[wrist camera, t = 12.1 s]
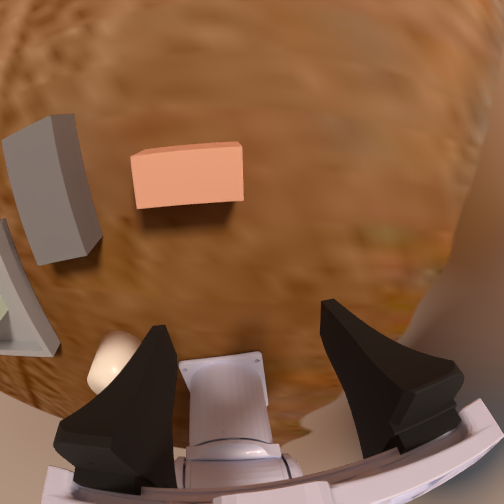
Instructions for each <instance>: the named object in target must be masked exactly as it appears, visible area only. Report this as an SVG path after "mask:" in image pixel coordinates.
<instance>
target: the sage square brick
mask: <svg viewBox="0 0 504 504" xmlns="http://www.w3.org/2000/svg"><path fill="white" fill-rule="evenodd" d="M7 311H8V309H7V307H6V305H5V303H4V301H3V299H2V297H1V295H0V320H1V319H2V318H3V316H4V315H5V314H6V312H7Z"/></svg>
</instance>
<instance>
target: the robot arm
mask: <svg viewBox="0 0 504 504" xmlns="http://www.w3.org/2000/svg"><path fill="white" fill-rule="evenodd" d="M320 335H321V339H322V342H323V345H324V348H325V351H326V353H327V355H328V357H329V359H330V362H331V364H332V366H333V368H334V370H335V372H336V374H337V376H338V378H339V380H340V382H341V385H342V387H343V389H344V391H345V394H346V397H347V399H348V403H349V406H350V409H351V412H352V416H353V419H354V422H355V425H356V429H357V433H358V437H359V441H360V445H361V450H362V454H363V458H364V459H363V460H360V461H357V462H354V463H351V464H347V465H344V466H341V467H337V468H334V469H330V470H327V471H322V472H318V473H314V474H310V475H306V476H303V474H302V471H301V468H300V466H299V464H298V462H297V461H296V460H295V459H294V458H292V456H290V455H289V454H288V453H284V454H281V452H280V447H279V444H273V440H272V434H271V429H270V424H269V419H268V413H267V408H266V406H268V398H267V390H266V382H265V375H264V367H263V360H262V354H261V353H260V352H258V351H257V352H250V353H243V354H236V355H229V356H221V357H213V358H205V359H195V360H186V361H180V362H179V369H180V371H181V374H182V376H183V378H184V380H185V383H186V385H187V387H188V389H189V392H190V424H189V446H187V447H186V458H185V457H178V458H177V460H175V461H174V457H173V456H174V455H173V439H172V413H173V404H174V395H175V387H176V379H177V354H176V352H175V349H174V347H173V344H172V342H171V339H170V336H169V334H168V331H167V328H166V326H165V325H158V326H153V327H152V328H151V329H150V331H149V332H148V334H147V335H146V337H145V338H144V340H143V341H142V343H141V344H140V346H139V347H138V349H137V350H136V351H135V353H134V354H133V356H132V357H131V359H130V360H129V361H128V363H127V364H126V365H125V366H124V368H123V369H122V370H121V372H120V373H119V374H118V375H117V376H116V377H115V378H114V380H113V381H112V382H111V383H110V384H109V385H108V386H107V387H106V388H105V389H104V390H103V391H101V392H100V393H99V394H98V395H97V396H96V397H95V398H94V399H92V400H91V401H90V402H89V403H87V404H86V405H85V406H83V407H82V408H81V409H79V410H78V411H76V412H75V413H73V414H72V415H70V416H68V417H67V418H65V419H63V420H61V421H60V423H59V426H58V429H57V433H56V436H55V439H54V443H53V445H54V446H53V447H54V448H55V450H56V451H57V452H58V453H59V454H60V455H61V456H62V457H63V458H65V459H66V460H67V461H69V462H70V463H71V464H72V465H74V466H75V472H72V471H70V470H67V469H64V468H59V467H55V466H52V465H49V467H48V471H47V476H46V481H45V485H44V490H43V495H42V500H41V504H405V503H407V502H409V501H411V500H413V499H415V498H417V497H419V496H421V495H423V494H425V493H426V492H428V491H430V490H432V489H433V488H435V487H437V486H439V485H441V484H442V483H444V482H446V481H447V480H449V479H450V478H452V477H454V476H455V475H457V474H458V473H460V472H461V471H463V470H465V469H466V468H468V467H469V466H471V465H472V464H474V463H475V462H476V461H477V460H479V459H480V458H481V457H482V456H484V455H485V454H486V453H487V452H488V451H489V450H490V449H491V448H492V447H493V446H494V445H496V444H497V443H498V442H499V441H500V440H501V439H502V438H503V436H504V434H503V433H502V431H501V430H500V428H499V426H498V425H497V423H496V422H495V420H494V418H493V417H492V415H491V414H490V412H489V411H488V409H487V408H486V406H485V405H484V403H483V402H482V400H481V399H477V400H475V401H474V402H472V403H471V404H469V405H467V406H466V407H464V408H463V409H461V410H460V411H459V412H458V413H457V412H456V410H455V407H456V406H457V405H456V402H455V401H454V398H455V396H456V394H457V393H458V391H459V390H460V388H461V386H462V384H463V382H464V375H463V373H462V372H461V370H460V369H459V368H458V366H457V365H456V364H455V362H454V361H452V360H447V359H442V358H438V357H434V356H431V355H427V354H424V353H421V352H418V351H416V350H412V349H410V348H408V347H406V346H403V345H401V344H399V343H397V342H395V341H393V340H391V339H390V338H388V337H386V336H384V335H382V334H381V333H379V332H378V331H376V330H375V329H373V328H371V327H370V326H368V325H367V324H366V323H364V322H363V321H362V320H360V319H359V318H357V317H356V316H355V315H354V314H352V313H351V312H350V311H349V310H347V309H346V308H345V307H344V306H342V305H341V304H340V303H339V302H337V301H336V300H335V299H329V300H324V301H321V321H320ZM256 359H258V360H256ZM184 368H186V369H184Z"/></svg>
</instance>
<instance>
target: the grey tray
mask: <svg viewBox="0 0 504 504" xmlns="http://www.w3.org/2000/svg"><path fill="white" fill-rule="evenodd" d="M0 295H1V297H2V299H3V301H4V303H5V305H6V307H7V309H8V311H7V312H6V314H5V315H4V316H3V318H2V319H1V320H0V355H13V356H34V357H54V355H55V353H56V351H57V349H58V347H59V345H60V343H61V342H60V340H59V339H58V337H57V335H56V334H55V332H54V330H53V328H52V326H51V325H50V323H49V321H48V319H47V317H46V315H45V314H44V312H43V310H42V308H41V306H40V304H39V302H38V300H37V298H36V296H35V294H34V291H33V289H32V287H31V285H30V283H29V281H28V278H27V276H26V274H25V271H24V269H23V267H22V264H21V262H20V259H19V257H18V254H17V252H16V249H15V246H14V244H13V241H12V238H11V235H10V232H9V229H8V226H7V223H6V220H5V218H4V219H2V220H0Z"/></svg>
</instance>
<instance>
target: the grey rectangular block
mask: <svg viewBox="0 0 504 504" xmlns="http://www.w3.org/2000/svg"><path fill="white" fill-rule="evenodd" d="M2 146H3V152H4V157H5V162H6V166H7V171H8V175H9V179H10V183H11V187H12V191H13V195H14V198H15V202H16V205H17V209H18V212H19V215H20V218H21V221H22V224H23V227H24V230H25V233H26V236H27V239H28V241H29V244H30V247H31V249H32V252H33V254H34V257H35V259H36V262H37V264H38V266H40V265H44V264H49V263H54V262H59V261H63V260H68V259H73V258H78V257H83V256H87V255H88V254H89V252H90V251H91V250H92V249H93V247H94V246H95V245H96V244H97V242H98V241H99V240H100V239H101V237H102V236H103V234H102V231H101V228H100V224H99V221H98V218H97V214H96V211H95V207H94V204H93V200H92V197H91V193H90V189H89V185H88V181H87V177H86V173H85V169H84V164H83V160H82V155H81V150H80V145H79V140H78V135H77V129H76V124H75V118H74V114H63V115H50V116H48V117H46V118H44V119H42V120H39V121H37V122H35V123H33V124H31V125H29V126H27V127H25V128H23V129H21V130H19V131H18V132H16V133H14V134H12V135H10V136H8V137H7V138H5V139H3V140H2Z"/></svg>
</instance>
